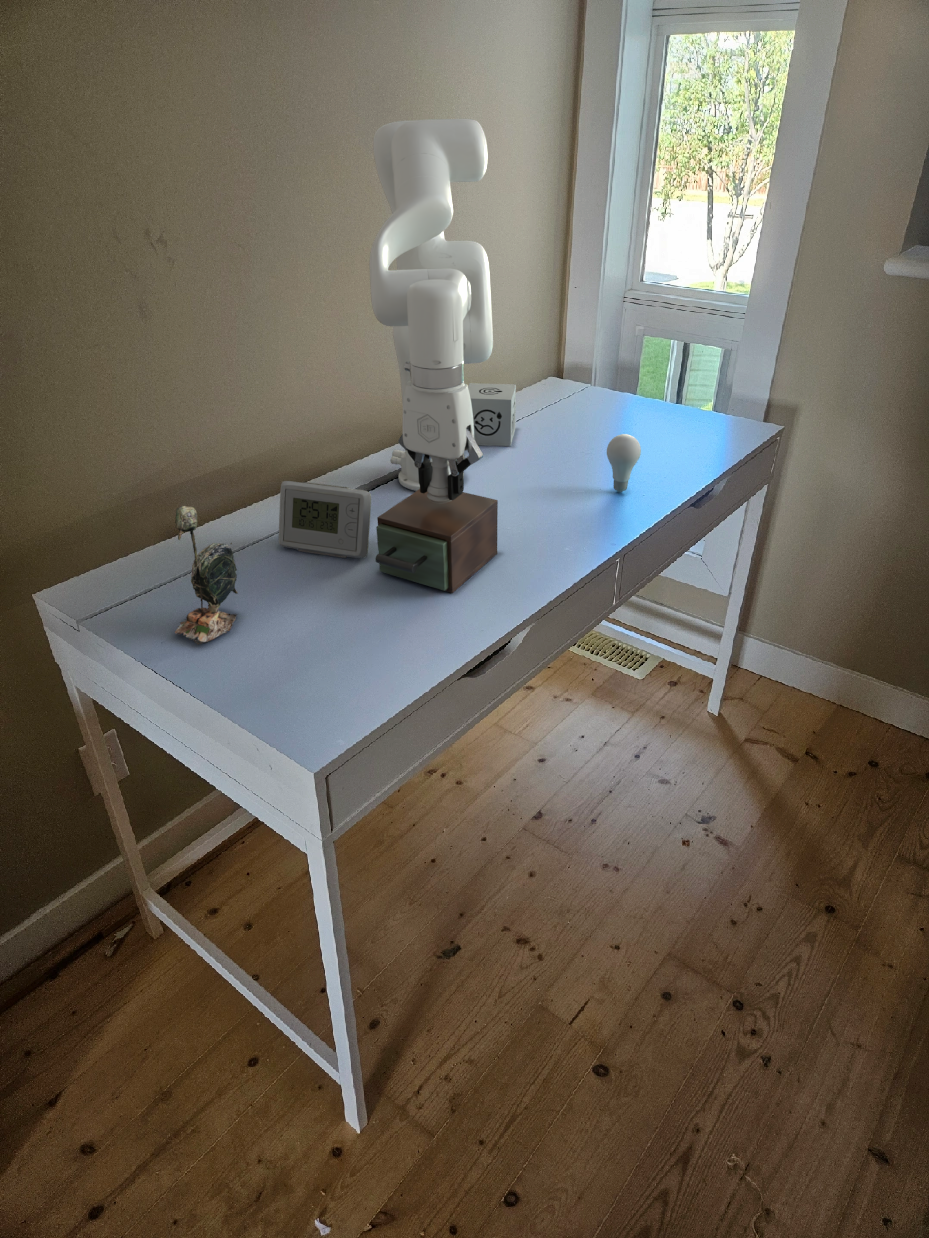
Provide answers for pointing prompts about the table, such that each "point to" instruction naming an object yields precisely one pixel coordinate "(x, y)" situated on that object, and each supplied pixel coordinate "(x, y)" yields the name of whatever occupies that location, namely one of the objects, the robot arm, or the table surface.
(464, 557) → the cabinet
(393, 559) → the drawer
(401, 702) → the table surface
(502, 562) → the table surface
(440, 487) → the rook chess piece
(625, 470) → the lightbulb
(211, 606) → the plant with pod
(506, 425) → the icon cube
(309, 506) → the digital clock
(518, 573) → the table surface
